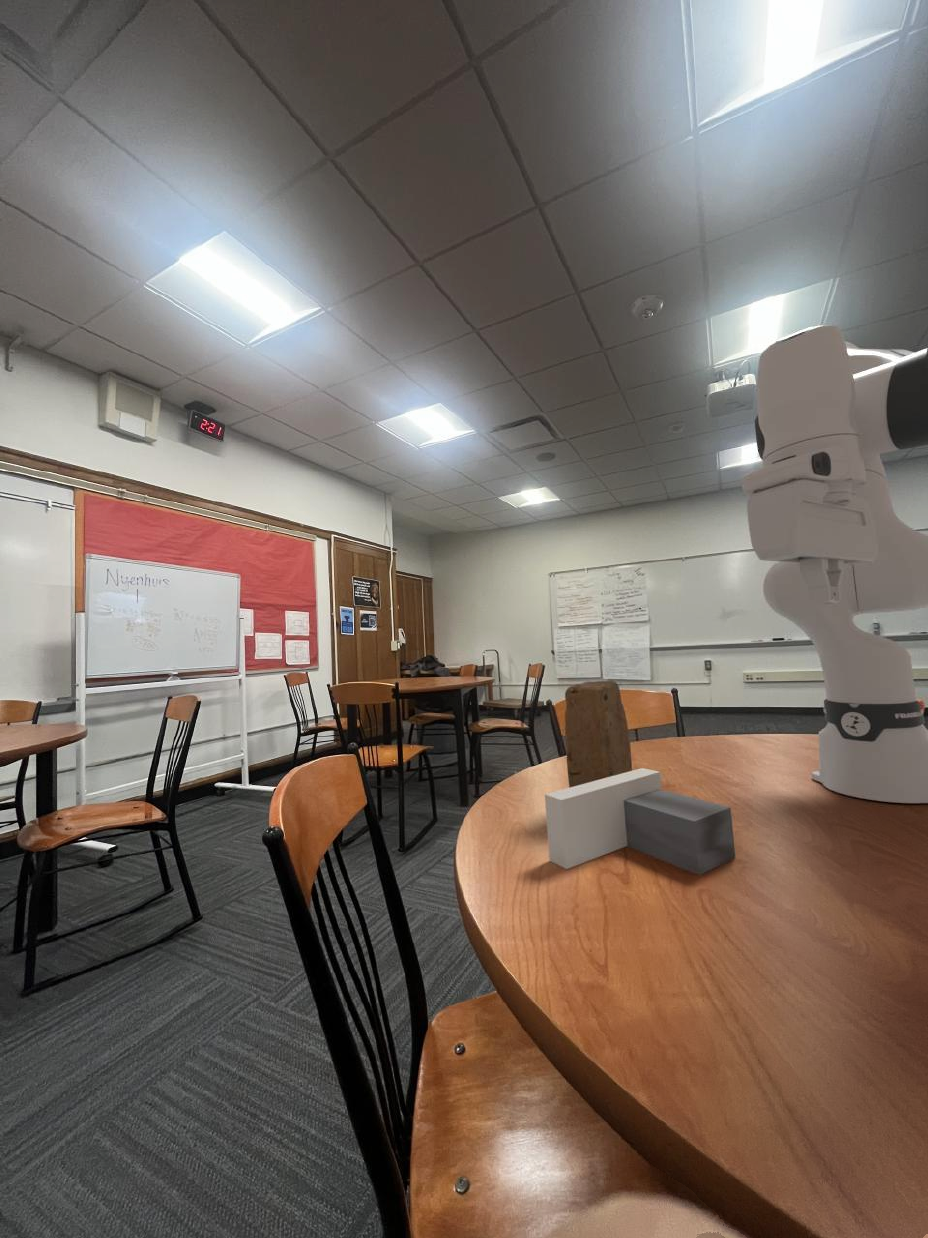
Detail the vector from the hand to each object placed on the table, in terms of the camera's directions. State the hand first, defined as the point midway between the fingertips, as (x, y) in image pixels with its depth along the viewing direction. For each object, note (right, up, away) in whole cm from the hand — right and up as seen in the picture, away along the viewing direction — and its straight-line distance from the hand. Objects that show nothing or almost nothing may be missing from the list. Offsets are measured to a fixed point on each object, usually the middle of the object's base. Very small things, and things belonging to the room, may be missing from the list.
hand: (826, 603), depth 52 cm
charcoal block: (-12, -31, +8) cm, 34 cm away
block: (-17, -32, +24) cm, 43 cm away
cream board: (-20, -31, +11) cm, 38 cm away
